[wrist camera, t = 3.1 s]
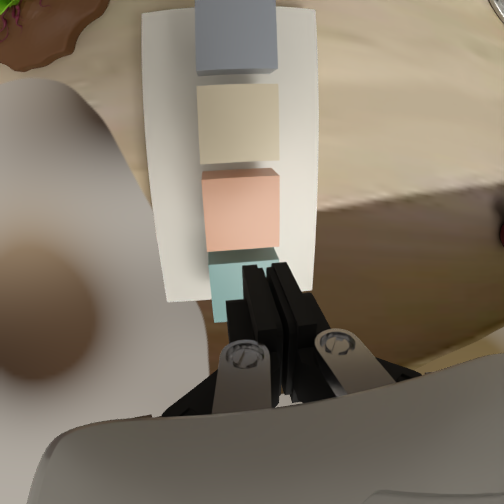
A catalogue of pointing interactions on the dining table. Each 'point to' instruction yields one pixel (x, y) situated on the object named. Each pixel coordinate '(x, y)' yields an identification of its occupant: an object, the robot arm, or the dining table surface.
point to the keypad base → (190, 171)
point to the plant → (43, 29)
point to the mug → (502, 234)
